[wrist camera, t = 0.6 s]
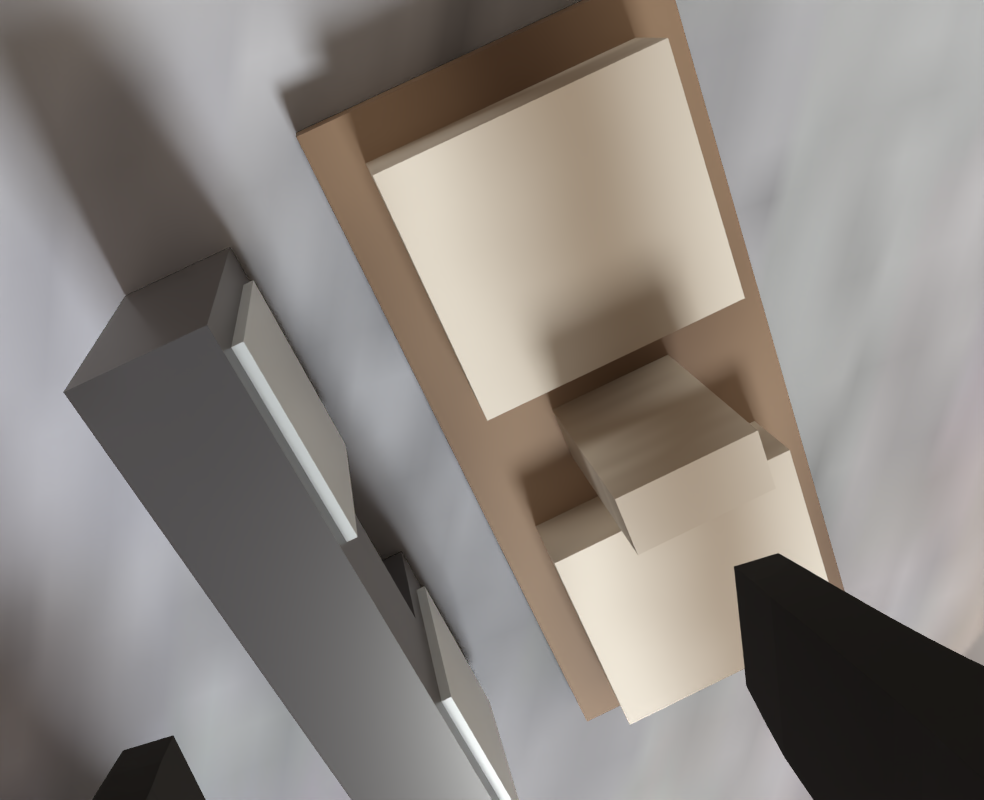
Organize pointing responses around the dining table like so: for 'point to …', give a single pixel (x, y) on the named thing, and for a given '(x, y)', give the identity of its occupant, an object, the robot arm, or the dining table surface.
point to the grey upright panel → (285, 536)
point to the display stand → (586, 336)
